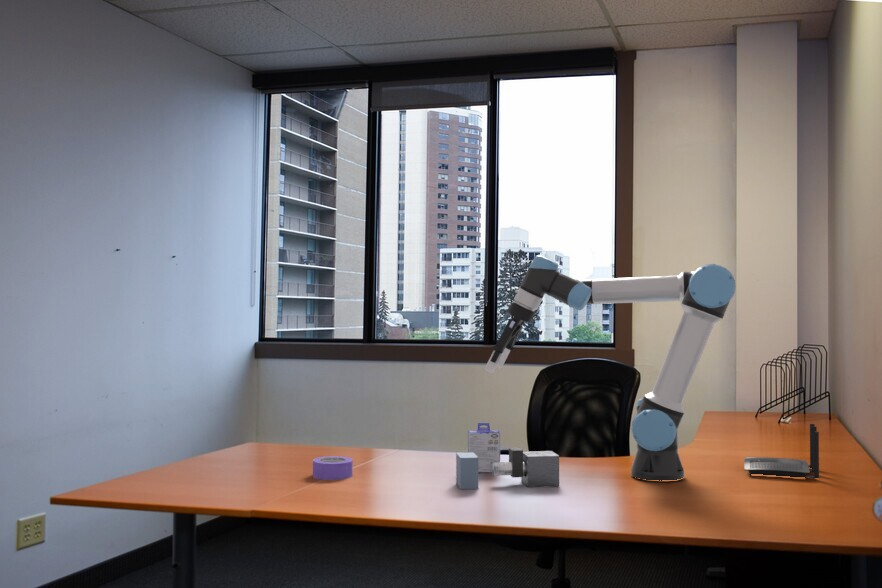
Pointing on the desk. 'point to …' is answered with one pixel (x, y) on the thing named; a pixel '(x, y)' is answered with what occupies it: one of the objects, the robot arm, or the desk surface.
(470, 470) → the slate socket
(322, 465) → the tape roll
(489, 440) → the ink cartridge box
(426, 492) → the desk surface
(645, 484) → the desk surface
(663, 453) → the robot arm
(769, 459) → the router
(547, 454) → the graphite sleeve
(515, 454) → the metal rod with block
